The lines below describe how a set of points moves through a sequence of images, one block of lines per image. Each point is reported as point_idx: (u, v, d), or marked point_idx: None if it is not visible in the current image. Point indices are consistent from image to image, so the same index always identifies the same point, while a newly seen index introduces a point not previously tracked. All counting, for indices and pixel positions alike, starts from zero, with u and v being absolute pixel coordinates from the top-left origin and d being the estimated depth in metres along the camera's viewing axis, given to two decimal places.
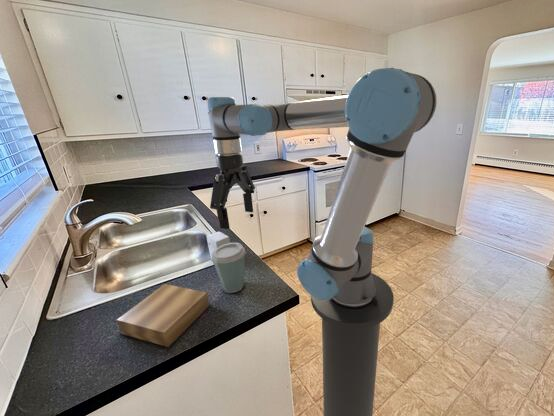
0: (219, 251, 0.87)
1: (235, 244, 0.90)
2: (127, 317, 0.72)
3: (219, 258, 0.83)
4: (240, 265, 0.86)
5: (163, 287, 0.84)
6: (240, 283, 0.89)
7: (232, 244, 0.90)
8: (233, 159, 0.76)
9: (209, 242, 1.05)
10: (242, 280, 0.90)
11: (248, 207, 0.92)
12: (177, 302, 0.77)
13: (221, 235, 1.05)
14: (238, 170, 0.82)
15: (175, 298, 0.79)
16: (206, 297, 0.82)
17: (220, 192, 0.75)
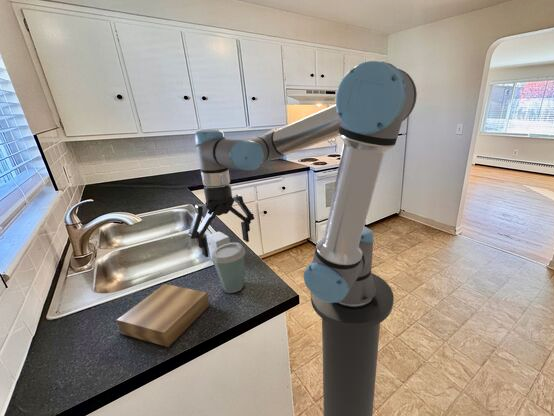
0: (219, 251, 0.87)
1: (235, 244, 0.90)
2: (127, 317, 0.72)
3: (219, 258, 0.83)
4: (240, 265, 0.86)
5: (163, 287, 0.84)
6: (240, 283, 0.89)
7: (232, 244, 0.90)
8: (214, 192, 0.76)
9: (209, 242, 1.05)
10: (242, 280, 0.90)
11: (244, 236, 0.90)
12: (177, 302, 0.77)
13: (221, 235, 1.05)
14: (228, 201, 0.81)
15: (175, 298, 0.79)
16: (206, 297, 0.82)
17: (197, 222, 0.76)
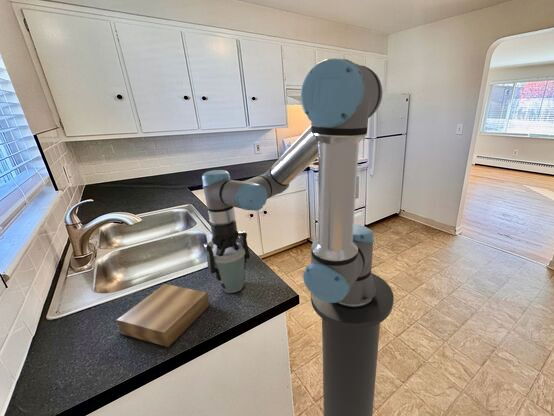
0: None
1: None
2: (127, 317, 0.72)
3: (219, 258, 0.83)
4: (240, 265, 0.86)
5: (163, 287, 0.84)
6: (240, 283, 0.89)
7: None
8: (221, 229, 0.80)
9: None
10: (242, 280, 0.90)
11: None
12: (177, 302, 0.77)
13: None
14: (233, 234, 0.85)
15: (175, 298, 0.79)
16: (206, 297, 0.82)
17: (211, 260, 0.82)
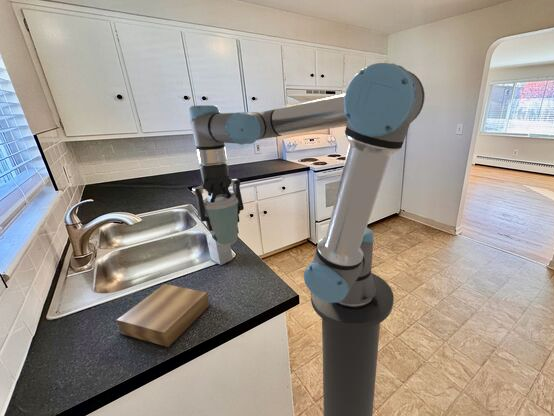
0: None
1: None
2: (127, 317, 0.72)
3: (209, 204, 0.76)
4: (232, 213, 0.79)
5: (163, 287, 0.84)
6: (233, 235, 0.82)
7: None
8: (210, 170, 0.73)
9: (209, 242, 1.05)
10: (235, 232, 0.83)
11: None
12: (177, 302, 0.77)
13: None
14: (225, 179, 0.79)
15: (175, 298, 0.79)
16: (206, 297, 0.82)
17: (200, 205, 0.75)
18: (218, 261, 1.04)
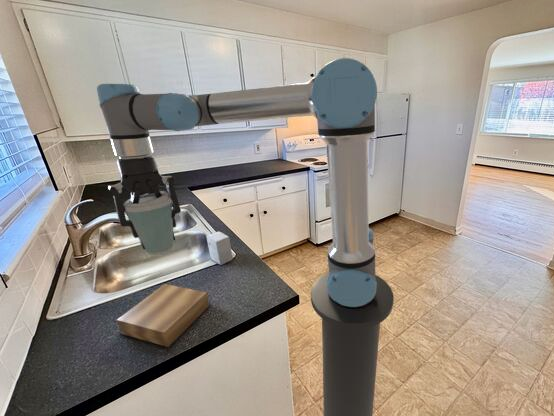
0: None
1: None
2: (127, 317, 0.72)
3: (130, 205, 0.63)
4: (162, 217, 0.66)
5: (163, 287, 0.84)
6: (165, 242, 0.69)
7: None
8: (128, 164, 0.60)
9: (209, 242, 1.05)
10: (169, 239, 0.70)
11: None
12: (177, 302, 0.77)
13: (221, 235, 1.05)
14: (153, 176, 0.65)
15: (175, 298, 0.79)
16: (206, 297, 0.82)
17: (119, 207, 0.62)
18: (218, 261, 1.04)
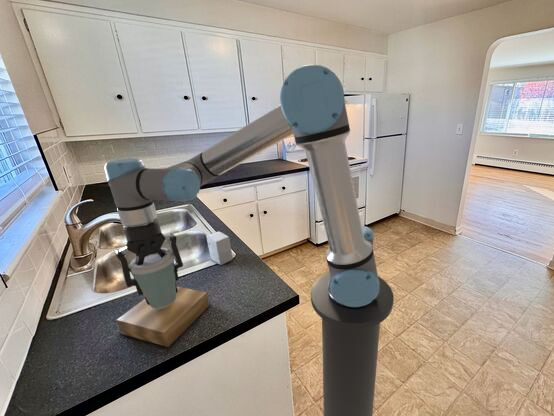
0: None
1: (163, 250, 0.74)
2: (127, 317, 0.72)
3: (135, 268, 0.67)
4: (165, 275, 0.70)
5: None
6: (168, 297, 0.73)
7: None
8: (134, 232, 0.64)
9: (209, 242, 1.05)
10: (171, 293, 0.74)
11: None
12: (177, 302, 0.77)
13: (221, 235, 1.05)
14: (156, 238, 0.70)
15: None
16: (206, 297, 0.82)
17: (125, 270, 0.66)
18: (218, 261, 1.04)
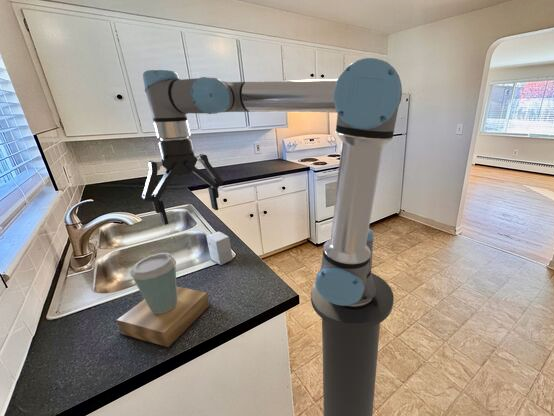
0: (143, 264, 0.71)
1: (165, 255, 0.74)
2: (127, 317, 0.72)
3: (137, 273, 0.67)
4: (166, 281, 0.71)
5: None
6: (169, 302, 0.73)
7: (161, 255, 0.75)
8: (170, 145, 0.65)
9: (209, 242, 1.05)
10: (173, 298, 0.74)
11: (213, 204, 0.79)
12: (177, 302, 0.78)
13: (221, 235, 1.05)
14: (189, 159, 0.71)
15: None
16: (206, 297, 0.82)
17: (151, 182, 0.65)
18: (218, 261, 1.04)
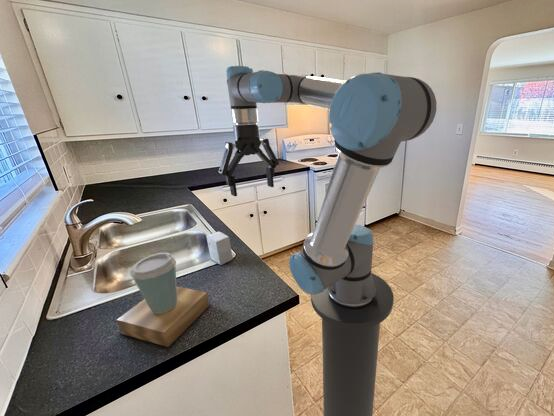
0: (143, 264, 0.71)
1: (164, 255, 0.74)
2: (127, 317, 0.72)
3: (137, 273, 0.67)
4: (166, 280, 0.71)
5: None
6: (169, 302, 0.73)
7: (161, 255, 0.75)
8: (244, 129, 0.78)
9: (209, 242, 1.05)
10: (173, 298, 0.74)
11: (269, 181, 0.92)
12: (177, 302, 0.77)
13: (221, 235, 1.05)
14: (255, 142, 0.84)
15: None
16: (206, 297, 0.82)
17: (227, 159, 0.79)
18: (218, 261, 1.04)
